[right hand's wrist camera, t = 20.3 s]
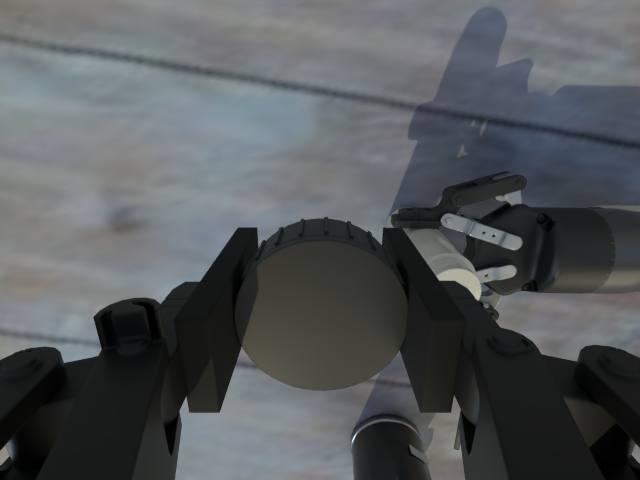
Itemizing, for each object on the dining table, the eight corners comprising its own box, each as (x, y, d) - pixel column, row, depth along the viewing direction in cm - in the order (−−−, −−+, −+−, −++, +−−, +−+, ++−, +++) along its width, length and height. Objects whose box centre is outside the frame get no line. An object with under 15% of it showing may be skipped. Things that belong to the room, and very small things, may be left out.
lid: (429, 272, 12) (450, 303, 10) (337, 374, 13) (339, 417, 11) (302, 183, 11) (298, 198, 9) (217, 304, 12) (198, 339, 10)
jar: (377, 226, 37) (407, 293, 23) (407, 198, 36) (459, 250, 22) (403, 252, 38) (449, 332, 24) (434, 226, 37) (500, 293, 23)
